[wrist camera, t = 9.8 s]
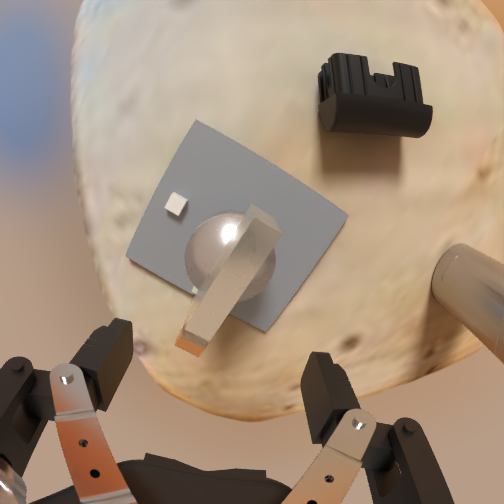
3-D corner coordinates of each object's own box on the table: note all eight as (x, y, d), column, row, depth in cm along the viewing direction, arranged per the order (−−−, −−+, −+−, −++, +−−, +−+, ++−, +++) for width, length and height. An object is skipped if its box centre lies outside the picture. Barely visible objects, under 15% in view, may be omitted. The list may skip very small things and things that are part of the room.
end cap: (318, 134, 26) (339, 128, 20) (312, 71, 24) (331, 49, 18) (401, 139, 26) (436, 137, 20) (395, 81, 24) (427, 67, 18)
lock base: (345, 213, 29) (368, 226, 23) (265, 326, 33) (269, 359, 27) (197, 121, 25) (185, 110, 20) (128, 252, 30) (105, 273, 24)
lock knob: (223, 182, 21) (213, 192, 15) (296, 227, 23) (318, 256, 16) (166, 282, 24) (141, 327, 17) (233, 318, 25) (230, 371, 18)
